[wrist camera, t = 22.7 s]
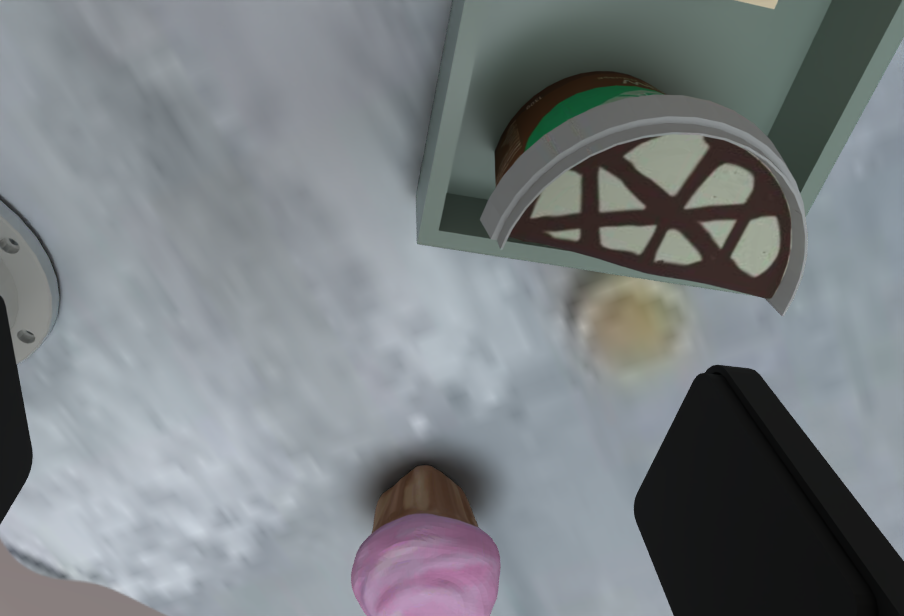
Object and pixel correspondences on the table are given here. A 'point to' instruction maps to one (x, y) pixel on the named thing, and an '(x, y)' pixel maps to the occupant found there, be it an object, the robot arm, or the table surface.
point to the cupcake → (426, 553)
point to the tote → (659, 64)
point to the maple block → (762, 3)
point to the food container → (650, 186)
